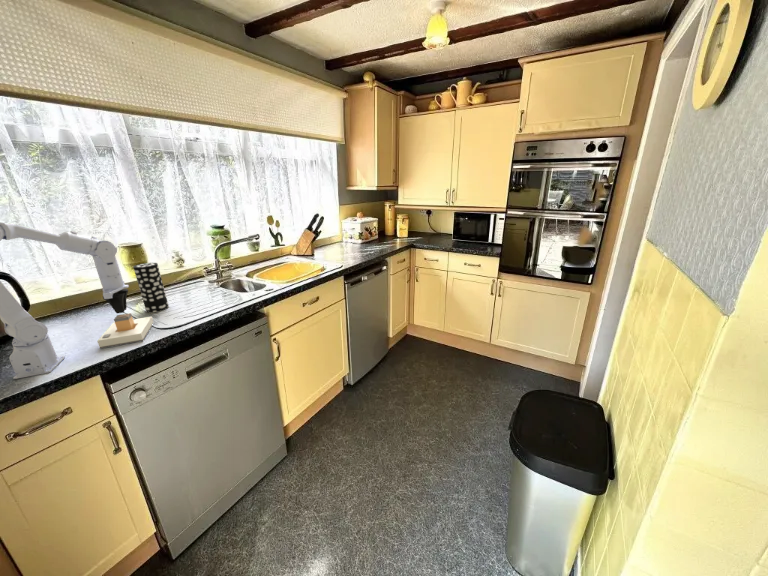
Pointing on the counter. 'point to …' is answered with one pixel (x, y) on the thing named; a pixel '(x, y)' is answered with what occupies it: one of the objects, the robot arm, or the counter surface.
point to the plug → (124, 322)
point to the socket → (126, 333)
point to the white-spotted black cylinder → (151, 287)
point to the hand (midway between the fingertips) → (121, 311)
